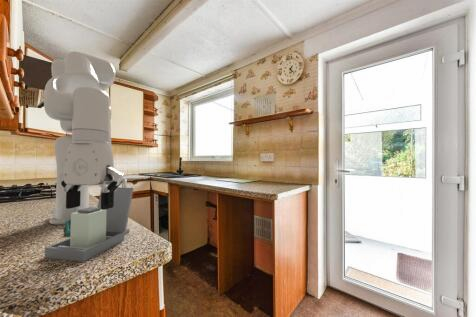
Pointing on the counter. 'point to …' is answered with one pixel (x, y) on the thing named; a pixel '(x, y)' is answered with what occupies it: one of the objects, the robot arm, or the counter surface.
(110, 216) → the lid
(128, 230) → the clear capped tube
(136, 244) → the counter surface
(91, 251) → the case
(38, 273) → the counter surface
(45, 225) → the counter surface
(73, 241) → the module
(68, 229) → the digital multimeter
